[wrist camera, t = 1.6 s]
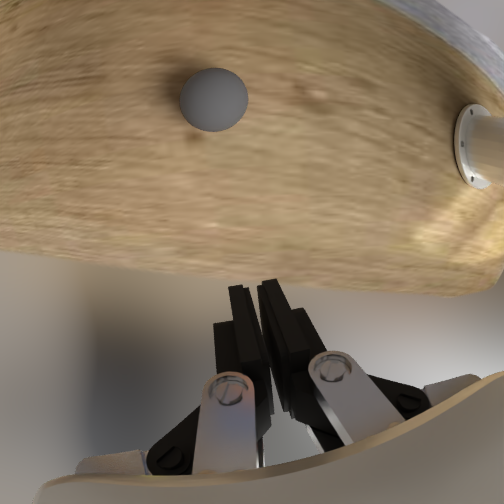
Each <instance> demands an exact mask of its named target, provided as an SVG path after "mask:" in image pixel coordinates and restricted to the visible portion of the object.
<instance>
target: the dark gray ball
mask: <svg viewBox="0 0 504 504" xmlns="http://www.w3.org/2000/svg"><path fill="white" fill-rule="evenodd" d="M247 105H248V93H247V89H246V87H245V85H244V83H243V81H242V80H241V79H240V78H239V77H238V76H237V75H236V74H234V73H233V72H231V71H228V70H226V69H221V68H209V69H205V70H202V71H199V72H197V73H196V74H194V75H193V76H192V77H190V78H189V79H188V81H187V82H186V83H185V85H184V86H183V88H182V91H181V94H180V108H181V111H182V114H183V116H184V117H185V119H186V120H187V121H188V122H189V123H190V124H191V125H192V126H194V127H196V128H198V129H200V130H203V131H209V132H216V131H222V130H225V129H228V128H230V127H232V126H233V125H235V124H236V123H237V122H238V121H239V120H240V119H241V118H242V116H243V115H244V113H245V111H246V108H247Z"/></svg>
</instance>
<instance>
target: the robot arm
mask: <svg viewBox="0 0 504 504" xmlns="http://www.w3.org/2000/svg"><path fill="white" fill-rule="evenodd" d="M454 147H455V155H456V161H457V164H458V168H459V171H460V173H461V175H462V177H463V179H464V180H465V182H466V183H467V184H468V185H470V186H471V187H473V188H477V189H484V188H486V187H488V186H489V185H490V184H491V183H495V184H498V185H500V186H503V187H504V118H503V117H495V116H492V115H491V114H490V113H489V111H488V110H487V109H486V108H485V107H483V106H481V105H478V104H469V105H467V106H465V107H464V108H463V109H462V111H461V112H460V114H459V116H458V119H457V122H456V127H455V135H454ZM228 289H229V296H230V302H231V308H232V315H233V320H232V321H226V322H220V323H214V324H213V327H214V343H215V356H216V369H217V375H215V376H214V377H212V378H211V379H209V380H208V381H207V383H206V384H205V385H204V388H203V391H202V399H201V405H200V406H199V407H198V408H196V409H195V410H194V411H193V412H192V413H191V414H190V415H188V416H187V417H186V418H185V419H184V420H183V421H182V422H180V423H179V424H178V425H177V426H176V427H175V428H173V429H172V430H171V431H170V432H169V433H168V434H166V435H165V436H164V437H163V438H162V439H160V440H159V441H158V442H157V443H156V444H154V445H153V446H152V448H151V449H150V450H148V451H144V452H142V451H141V450H140V449H139V450H134V451H129V452H123V453H116V454H110V455H102V456H93V457H88V458H84V459H83V460H82V461H80V462H79V463H78V465H77V467H76V471H75V474H72V475H66V476H62V477H58V478H55V479H52V480H50V481H48V482H46V483H44V484H43V485H42V486H41V487H40V488H39V489H38V491H37V493H36V494H35V497H34V499H33V502H32V504H504V371H502V372H498V373H494V374H492V375H489V376H487V377H485V378H483V379H481V378H479V377H478V376H476V375H472V374H467V375H463V376H459V377H456V378H452V379H449V380H445V381H442V382H438V383H434V384H430V385H426V386H424V388H423V389H419V388H416V387H413V386H410V385H406V384H402V383H398V382H393V381H390V380H386V379H382V378H379V377H375V376H372V375H368V374H366V373H365V372H364V371H363V369H361V367H360V366H359V365H358V364H357V362H356V361H355V360H354V359H353V358H352V357H351V356H350V355H348V354H346V353H343V352H339V351H327V350H326V348H325V346H324V344H323V342H322V340H321V339H320V337H319V335H318V333H317V331H316V329H315V328H314V326H313V324H312V322H311V320H310V318H309V317H308V315H307V313H306V311H305V310H304V308H297V309H293V310H291V308H290V306H289V304H288V302H287V299H286V297H285V295H284V294H283V291H282V289H281V287H280V285H279V283H278V281H277V279H271V280H265V281H262V285H259V286H257V291H258V299H259V300H258V301H259V309H260V318H261V326H262V332H261V329H260V326H259V322H258V319H257V315H256V312H255V308H254V305H253V301H252V298H251V294H250V291H249V287H247V288H243V285H236V286H230V287H228ZM270 368H271V371H272V375H273V378H274V381H275V385H276V389H277V392H278V395H279V399H280V402H281V405H282V409H283V411H284V412H287V411H289V412H290V416H291V419H293V418H295V419H296V420H297V421H299V422H302V423H304V424H305V426H306V429H307V431H308V433H309V435H310V437H311V438H312V440H313V442H314V444H315V445H316V447H317V449H318V451H319V452H320V454H318V455H315V456H311V457H307V458H304V459H300V460H296V461H291V462H287V463H282V464H278V465H272V466H267V467H265V463H264V443H263V435H264V434H265V433H266V431H267V430H268V429H269V428H270V427H271V417H270V415H273V414H274V405H273V394H272V385H271V374H270Z"/></svg>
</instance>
